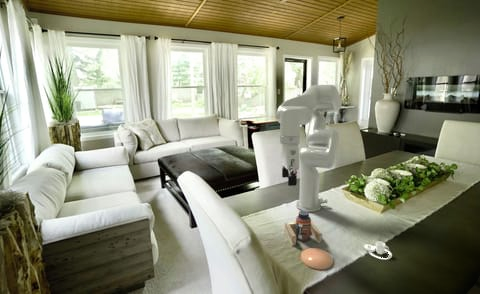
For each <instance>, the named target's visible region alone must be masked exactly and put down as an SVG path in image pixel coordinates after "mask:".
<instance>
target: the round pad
mask: <svg viewBox="0 0 480 294" xmlns="http://www.w3.org/2000/svg"><path fill="white" fill-rule="evenodd" d="M300 259H301V261H302V263H303V264H304V265H306V266H307V267H309V268H311V269H314V270H320V271H321V270H327V269H329V268H331V267H332V266H333V263H334V259H333V256H332V255H331V253H329V252H328V251H326V250H324V249H322V248H318V247H317V248H316V247H310V248H306V249H304V250H303V251H301V254H300Z"/></svg>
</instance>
